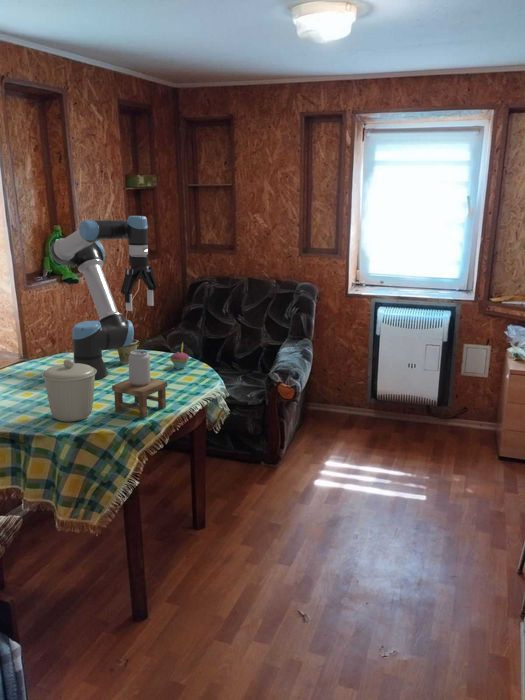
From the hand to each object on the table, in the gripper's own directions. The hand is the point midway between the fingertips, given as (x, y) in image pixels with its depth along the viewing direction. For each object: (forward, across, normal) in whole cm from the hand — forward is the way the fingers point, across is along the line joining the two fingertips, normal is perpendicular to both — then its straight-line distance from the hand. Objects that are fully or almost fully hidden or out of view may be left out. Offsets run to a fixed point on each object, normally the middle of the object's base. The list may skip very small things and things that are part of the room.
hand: (140, 308), depth 236 cm
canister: (+32, -44, -4) cm, 54 cm away
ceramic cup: (+32, +22, +25) cm, 46 cm away
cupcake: (+32, +26, -1) cm, 41 cm away
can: (+22, -26, -20) cm, 39 cm away
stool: (+32, -26, -20) cm, 46 cm away
